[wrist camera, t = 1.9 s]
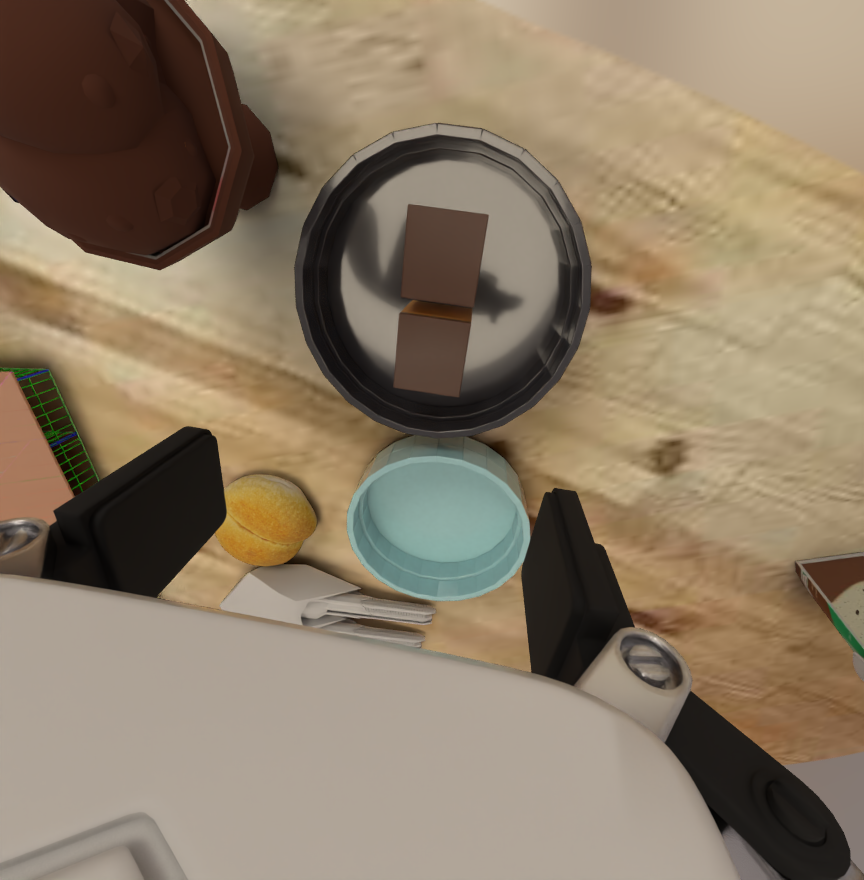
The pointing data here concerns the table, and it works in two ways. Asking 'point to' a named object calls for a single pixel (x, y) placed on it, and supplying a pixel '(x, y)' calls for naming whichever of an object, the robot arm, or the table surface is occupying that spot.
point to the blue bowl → (439, 518)
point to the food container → (839, 596)
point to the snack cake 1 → (442, 255)
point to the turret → (322, 603)
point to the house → (30, 454)
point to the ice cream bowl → (126, 127)
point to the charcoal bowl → (493, 317)
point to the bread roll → (265, 520)
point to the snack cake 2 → (432, 347)
